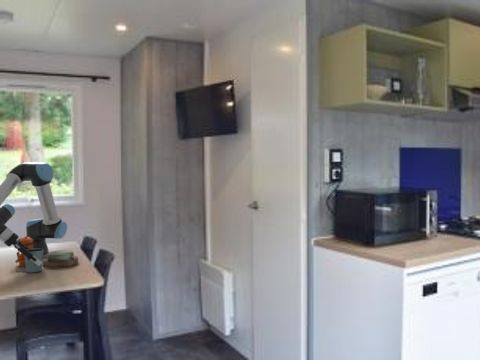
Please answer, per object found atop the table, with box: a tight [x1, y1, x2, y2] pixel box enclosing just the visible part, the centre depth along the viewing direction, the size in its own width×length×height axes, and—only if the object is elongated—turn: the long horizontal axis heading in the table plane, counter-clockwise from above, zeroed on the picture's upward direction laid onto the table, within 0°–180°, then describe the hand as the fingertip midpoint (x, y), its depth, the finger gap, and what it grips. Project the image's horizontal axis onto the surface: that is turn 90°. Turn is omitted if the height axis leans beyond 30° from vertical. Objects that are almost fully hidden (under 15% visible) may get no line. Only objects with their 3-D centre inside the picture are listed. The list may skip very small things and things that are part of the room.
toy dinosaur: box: [14, 235, 34, 267], centre depth 272 cm, size 11×11×18 cm
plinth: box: [42, 249, 79, 269], centre depth 274 cm, size 20×20×7 cm
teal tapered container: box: [24, 248, 44, 273], centre depth 257 cm, size 10×10×12 cm
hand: (40, 262), depth 259 cm, fingers closed on teal tapered container, 10 cm apart
